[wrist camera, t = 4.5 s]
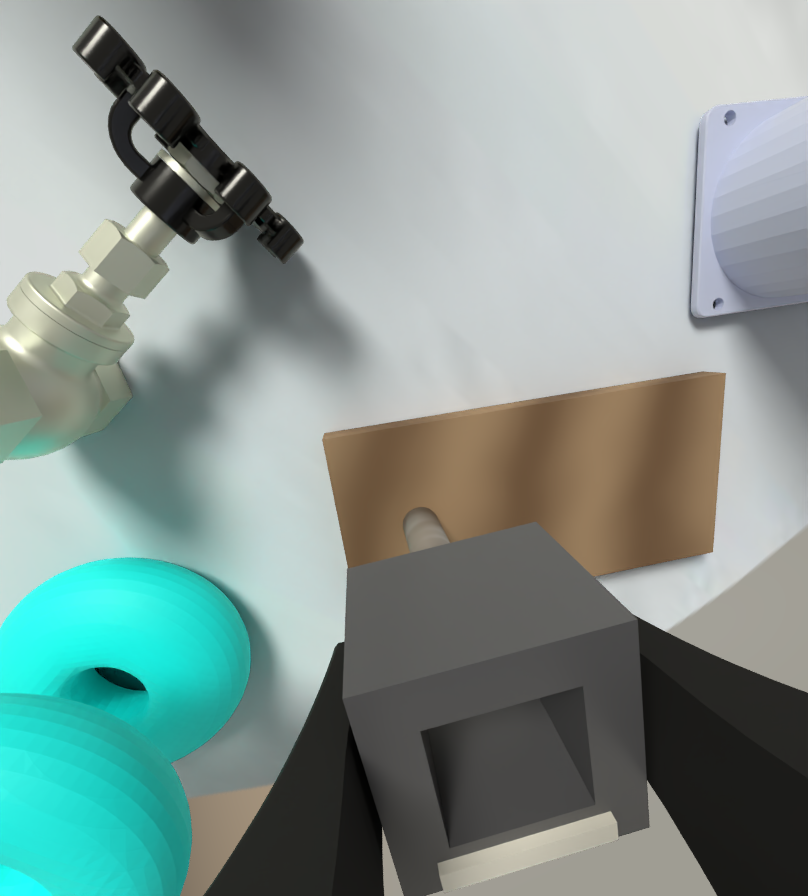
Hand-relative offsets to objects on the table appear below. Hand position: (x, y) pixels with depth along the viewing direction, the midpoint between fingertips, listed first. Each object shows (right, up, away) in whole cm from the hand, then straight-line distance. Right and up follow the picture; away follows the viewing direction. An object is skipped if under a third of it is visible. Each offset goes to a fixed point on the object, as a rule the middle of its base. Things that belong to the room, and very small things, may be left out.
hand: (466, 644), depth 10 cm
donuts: (-14, -4, +8) cm, 17 cm away
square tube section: (0, 0, +1) cm, 1 cm away
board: (+4, +3, +9) cm, 10 cm away
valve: (-12, +11, +5) cm, 17 cm away
